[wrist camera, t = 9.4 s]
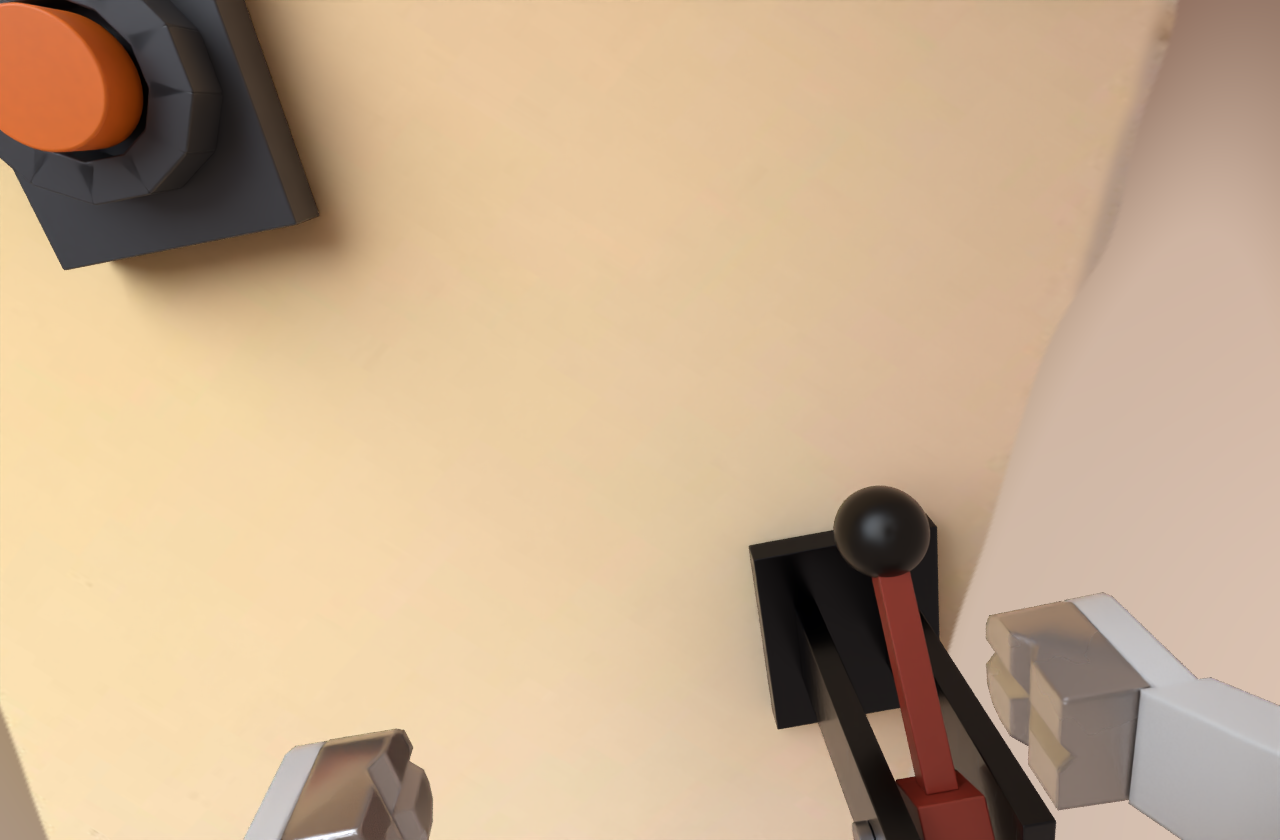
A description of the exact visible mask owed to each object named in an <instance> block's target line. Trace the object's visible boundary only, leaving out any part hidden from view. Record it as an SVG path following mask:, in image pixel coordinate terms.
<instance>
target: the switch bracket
mask: <svg viewBox="0 0 1280 840" xmlns="http://www.w3.org/2000/svg"><path fill="white" fill-rule="evenodd" d="M925 514H926V513H925ZM926 517H927V519H928V523H929V528H930V542H929V546H928V549H927V552H926V554H925V556H924V557H923V559H922V560H921V562H920V563H919V564H918V565H917V566H916V567H915V568H914V569H912V570H911V571H910V574H911V579H912V583H913V588H914V592H915V596H916V601H917V605H918V610H919V614H920V618H921V623H922V627H923V632H924V636H925V641H926V645H927V649H928V654H929V658H930V663H931V667H932V672H933V676H934V680H935V685H936V689H937V694H938V698H939V702H940V707H941V711H942V716H943V720H944V725H945V729H946V733H947V738H948V742H949V747H950V751H951V755H952V760H953V764H954V769H956V770H958V771H959V772H960V773H961V774H962V775H963V776H964V777H965V778H966V779H967V780H968V781H969V782H970V783H971V784H973V785H974V786H975V787H976V788H977V789H978V790H979V791H980V792H981V793H982V794H983V795H984V796H985V798H986V802H987V807H988V811H989V815H990V820H991V824H992V828H993V833H994V837H995V840H1055V829H1056V820H1055V819H1054V817H1053V816H1052V814H1051V813H1050V811H1049V810H1048V808H1047V806H1046V805H1045V803H1044V802H1043V800H1042V799H1041V797H1040V796H1039V794H1038V792H1037V791H1036V789H1035V788H1034V786H1033V785H1032V783H1031V782H1030V780H1029V778H1028V777H1027V775H1026V774H1025V772H1024V771H1023V769H1022V768H1021V766H1020V764H1019V763H1018V761H1017V760H1016V758H1015V757H1014V755H1013V754H1012V752H1011V750H1010V749H1009V748H1008V746H1007V744H1006V743H1005V741H1004V740H1003V738H1002V737H1001V735H1000V733H999V732H998V730H997V729H996V727H995V726H994V724H993V723H992V721H991V719H990V718H989V717H988V715H987V713H986V712H985V710H984V709H983V707H982V706H981V704H980V702H979V701H978V699H977V698H976V696H975V695H974V693H973V692H972V690H971V688H970V687H969V685H968V684H967V682H966V681H965V679H964V677H963V676H962V674H961V673H960V671H959V670H958V668H957V667H956V665H955V663H954V662H953V661H952V659H951V657H950V656H949V654H948V653H947V651H946V650H945V648H944V646H943V645H942V643H941V642H940V640H939V603H938V555H937V526H936V525H935V524H934V523H933V522H932V520H931V519H930V518H929V517H928V515H927V514H926ZM749 553H750V560H751V567H752V573H753V580H754V587H755V594H756V601H757V608H758V615H759V622H760V629H761V636H762V643H763V649H764V656H765V663H766V670H767V677H768V684H769V691H770V698H771V705H772V711H773V715H774V718H775V722H776V725H777V728H778V729H784V728H789V727H795V726H801V725H806V724H812V723H817V722H818V724H819V726H820V729H821V732H822V735H823V737H824V740H825V743H826V746H827V749H828V751H829V754H830V757H831V760H832V763H833V765H834V768H835V771H836V774H837V777H838V779H839V782H840V785H841V788H842V790H843V793H844V796H845V799H846V802H847V804H848V807H849V810H850V813H851V816H852V818H853V821H854V822H853V823H852V831H853V837H854V840H921V839H920V837H919V834H918V832H917V830H916V828H915V825H914V823H913V821H912V819H911V816H910V814H909V812H908V810H907V807H906V805H905V803H904V800H903V798H902V796H901V794H900V791H899V789H898V787H897V785H896V782H895V780H894V778H893V776H892V773H891V771H890V769H889V767H888V764H887V762H886V760H885V757H884V755H883V753H882V751H881V748H880V746H879V744H878V742H877V739H876V737H875V735H874V733H873V730H872V728H871V726H870V724H869V721H868V719H867V717H866V714H868V713H874V712H879V711H885V710H891V709H896V708H900V704H899V700H898V695H897V691H896V686H895V681H894V677H893V672H892V668H891V663H890V659H889V654H888V650H887V645H886V640H885V636H884V631H883V627H882V622H881V618H880V613H879V609H878V604H877V599H876V595H875V590H874V586H873V581H872V577H870V576H867V575H864V574H862V573H860V572H859V571H857V570H855V569H854V568H853V567H851V566H850V565H849V564H848V563H847V562H846V561H845V560H844V558H843V557H842V556H841V554H840V552H839V551H838V548H837V546H836V543H835V539H834V530H831V531H826V532H821V533H815V534H810V535H804V536H799V537H793V538H788V539H783V540H777V541H772V542H766V543H761V544H755V545H750V546H749Z"/></svg>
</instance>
